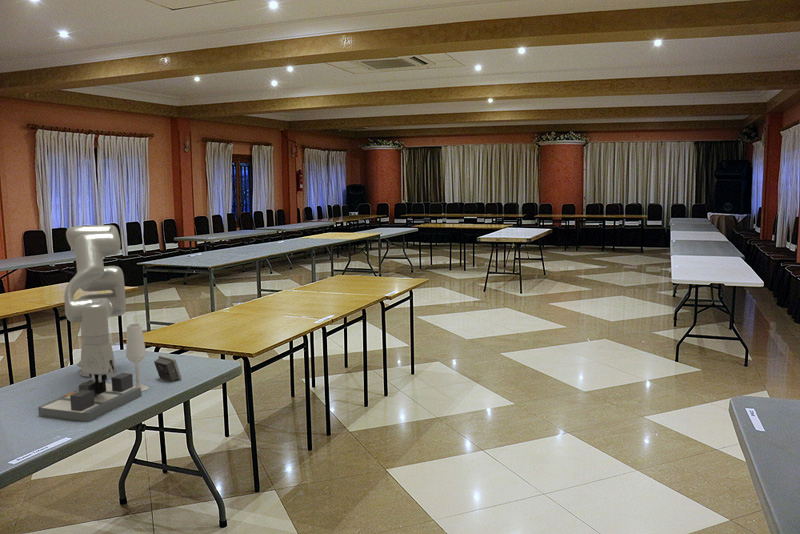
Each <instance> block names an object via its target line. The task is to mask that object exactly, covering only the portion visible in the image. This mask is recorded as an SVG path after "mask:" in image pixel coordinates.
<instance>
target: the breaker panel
mask: <svg viewBox="0 0 800 534" xmlns="http://www.w3.org/2000/svg"><path fill="white" fill-rule="evenodd" d="M110 379H111V383H108V382H106V391H105V392H103V393H101V394H99V395H97V396H94V391H90V390H82V391H79V389H77V390H75V391H71V392H69V393H67V394H65V395H63V396H61V397H58V398H55V399H53V400H51V401H48V402H46V403H44V404H42V405H39V406H38V408H37V410H38V416H40V417H46V418H55V419H61V420H69V419H71V420H72V421H77V420H79V422H85V421H87V423H91V422H93V421H94V419H95V420H97V419H99V418H100V417H102V416H105V415H106V414H109V413H110V412H112V411H115V410H117V409H118V408H120V407H122V406H124V405H127V404H128V403H130V402H132V401H134V400H137V399H139V398H140V397H142V391H141V388H137V386H134V382H133V381H134V380H133V373H129V372H128V373H127V372H122V373H119V374H116V375H114V376H112V377H110ZM98 417H99V418H98ZM96 418H97V419H96ZM92 420H93V421H92ZM90 421H91V422H90Z"/></svg>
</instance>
